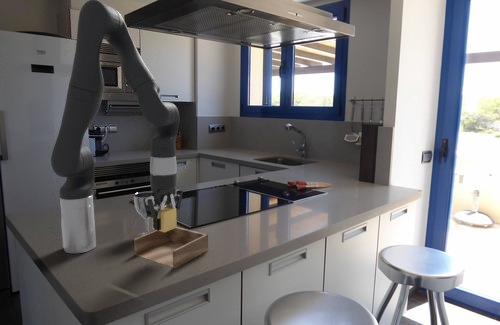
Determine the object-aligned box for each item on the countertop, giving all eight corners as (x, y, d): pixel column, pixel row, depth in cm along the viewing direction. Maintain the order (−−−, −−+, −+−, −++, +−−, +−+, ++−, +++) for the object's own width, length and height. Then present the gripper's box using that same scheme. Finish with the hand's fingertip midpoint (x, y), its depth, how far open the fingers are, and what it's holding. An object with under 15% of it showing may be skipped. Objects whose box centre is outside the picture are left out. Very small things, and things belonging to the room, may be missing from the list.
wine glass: (161, 231, 128) (160, 191, 125) (156, 240, 120) (154, 197, 117) (139, 231, 127) (137, 191, 125) (133, 240, 120) (130, 197, 117)
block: (152, 228, 104) (151, 209, 103) (164, 224, 109) (164, 205, 108) (164, 232, 102) (164, 212, 101) (176, 227, 106) (176, 208, 105)
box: (134, 256, 107) (133, 239, 106) (169, 240, 119) (169, 224, 118) (175, 270, 98) (174, 251, 97) (208, 251, 111) (208, 234, 110)
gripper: (171, 166, 110) (172, 218, 113) (135, 173, 98) (136, 231, 101) (189, 169, 106) (189, 223, 109) (154, 177, 94) (155, 237, 97)
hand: (164, 226), depth 105 cm, fingers closed on block, 5 cm apart
